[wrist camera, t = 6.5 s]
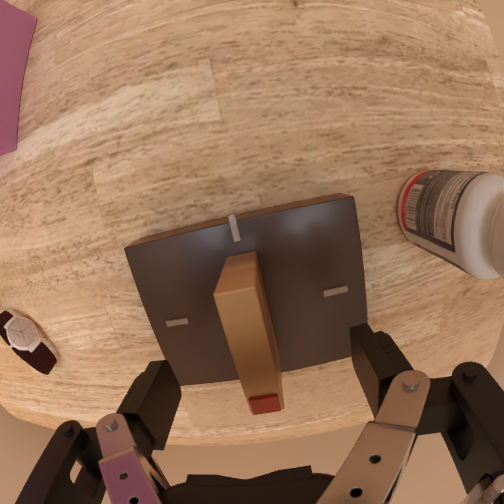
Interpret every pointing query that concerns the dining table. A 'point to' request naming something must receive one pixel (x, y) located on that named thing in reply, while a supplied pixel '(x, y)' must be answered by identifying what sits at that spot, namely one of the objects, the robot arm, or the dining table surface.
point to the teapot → (12, 69)
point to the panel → (274, 279)
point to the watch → (26, 342)
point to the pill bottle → (457, 218)
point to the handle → (250, 332)
